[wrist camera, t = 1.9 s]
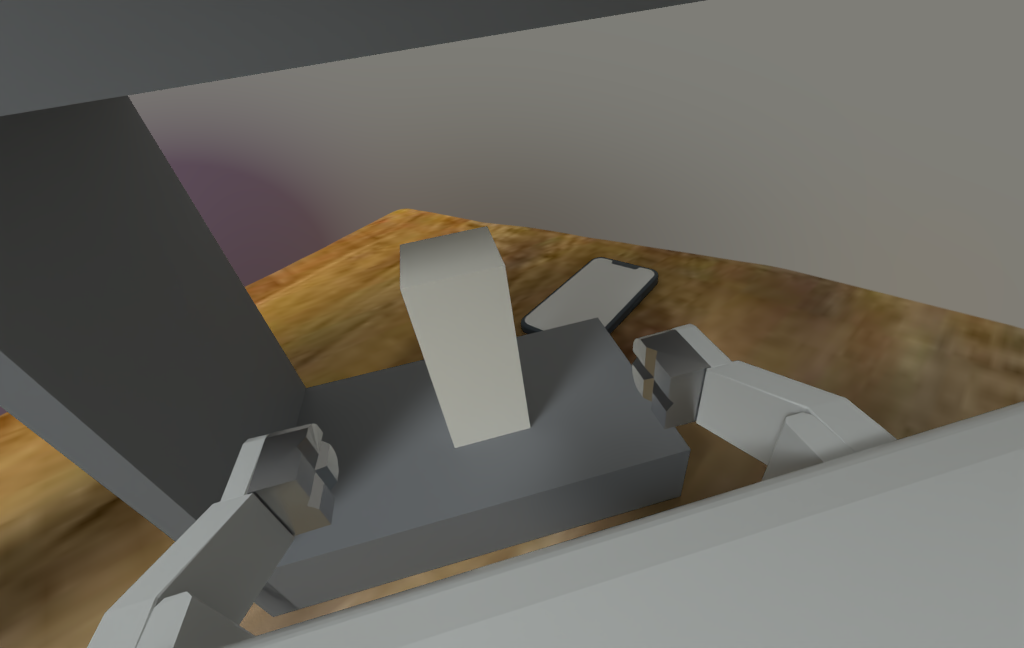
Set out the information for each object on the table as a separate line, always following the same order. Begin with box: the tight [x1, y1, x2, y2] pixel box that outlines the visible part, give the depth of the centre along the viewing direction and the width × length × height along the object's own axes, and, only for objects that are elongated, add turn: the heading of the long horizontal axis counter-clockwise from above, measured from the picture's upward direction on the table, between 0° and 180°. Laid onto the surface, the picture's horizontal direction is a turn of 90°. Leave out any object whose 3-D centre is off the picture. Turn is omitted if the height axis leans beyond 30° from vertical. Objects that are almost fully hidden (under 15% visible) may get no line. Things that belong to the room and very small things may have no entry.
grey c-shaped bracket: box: [0, 0, 704, 617], centre depth 23 cm, size 26×14×28 cm, turn 103°
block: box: [400, 226, 530, 448], centre depth 25 cm, size 5×5×12 cm
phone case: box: [521, 257, 658, 334], centre depth 45 cm, size 9×2×16 cm
